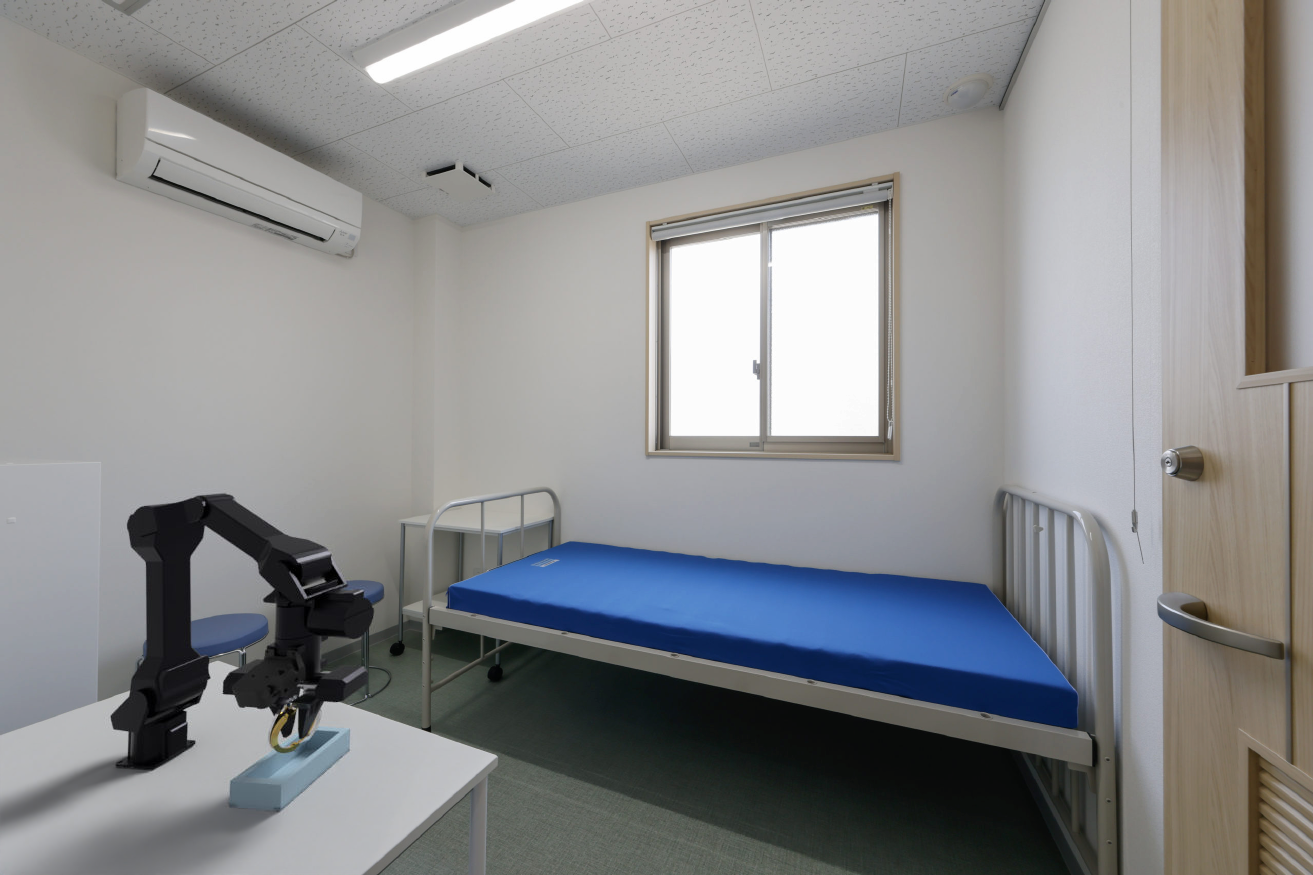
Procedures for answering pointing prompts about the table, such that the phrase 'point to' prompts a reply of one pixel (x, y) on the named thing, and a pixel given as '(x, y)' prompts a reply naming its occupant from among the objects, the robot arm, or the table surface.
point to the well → (288, 770)
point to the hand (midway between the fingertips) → (295, 736)
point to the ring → (279, 723)
